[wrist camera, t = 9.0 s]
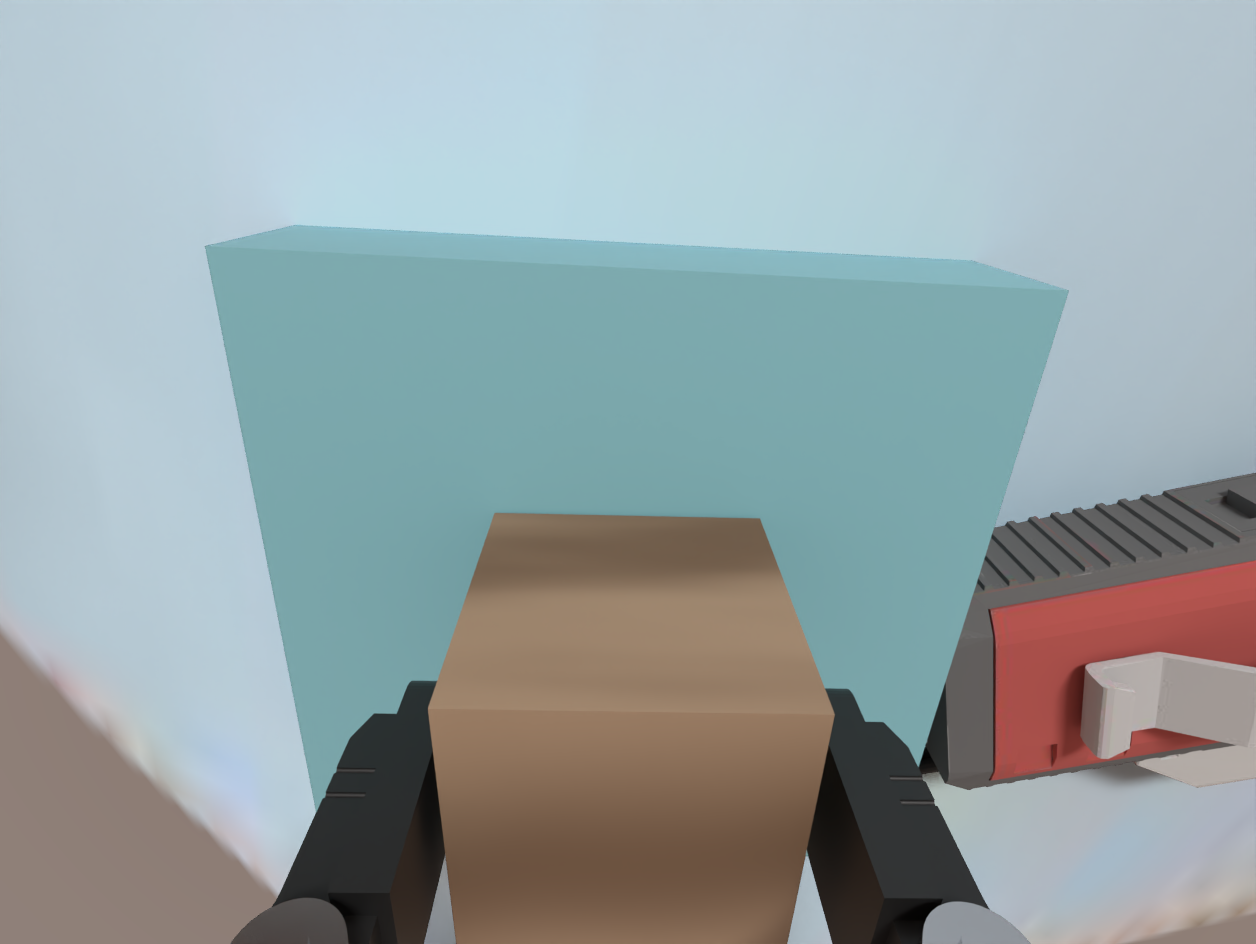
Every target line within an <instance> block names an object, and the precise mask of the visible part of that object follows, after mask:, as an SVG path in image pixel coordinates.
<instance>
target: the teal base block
mask: <svg viewBox="0 0 1256 944" xmlns="http://www.w3.org/2000/svg"><path fill="white" fill-rule="evenodd" d="M205 249H206V254H207V259H208V264H209V269H210V274H211V279H212V284H213V289H214V294H215V300H216V305H217V310H218V315H219V320H220V325H221V330H222V335H223V340H224V345H225V350H226V355H227V361H228V366H229V371H230V376H231V381H232V386H233V391H234V396H235V401H236V406H237V411H238V417H239V422H240V427H241V432H242V437H243V442H244V447H245V452H246V457H247V462H248V467H249V473H250V478H251V483H252V488H253V493H254V498H255V503H256V508H257V513H258V518H259V523H260V528H261V534H262V539H263V544H264V549H265V554H266V559H267V564H268V569H269V574H270V579H271V584H272V590H273V595H274V600H275V605H276V610H277V615H278V620H279V625H280V630H281V635H282V640H283V646H284V651H285V656H286V661H287V666H288V671H289V676H290V681H291V686H292V691H293V696H294V701H295V707H296V712H297V717H298V722H299V727H300V732H301V737H302V742H303V747H304V752H305V757H306V763H307V768H308V773H309V778H310V783H311V788H312V793H313V798H314V803H315V808H316V812H317V810H318V808H319V805H320V803H321V801H322V799H323V798H325V795H326V790H327V788H328V785H329V783H330V781H331V779H332V776H333V774H334V773H336V770H337V765H338V763H339V761H340V759H341V756H342V754H343V752H344V750H345V747H346V745H347V743H348V741H349V739H350V737H351V736H352V735H353V734H354V733H355V732H356V731H357V730H358V729H359V728H360V727H361V726H362V725H363V724H364V723H365V722H366V721H367V720H368V719H369V718H370V717H371V716H372V715H373V714H374V713H384V714H397V711H398V709H399V706H400V704H401V701H402V698H403V696H404V693H405V691H406V688H407V686H408V684H409V683H410V682H411V681H437V680H438V677H439V674H440V671H441V669H442V666H443V663H444V660H445V657H446V654H447V651H448V648H449V645H450V642H451V639H452V636H453V633H454V630H455V627H456V624H457V622H458V619H459V616H460V613H461V610H462V607H463V604H464V601H465V598H466V595H467V592H468V589H469V586H470V583H471V580H472V577H473V575H474V572H475V569H476V566H477V563H478V560H479V557H480V554H481V551H482V548H483V545H484V542H485V539H486V536H487V533H488V530H489V528H490V525H491V522H492V519H493V516H494V513H527V514H574V515H622V516H670V517H717V518H760V520H761V522H762V525H763V528H764V530H765V533H766V536H767V538H768V541H769V543H770V546H771V549H772V551H773V554H774V557H775V559H776V562H777V564H778V567H779V570H780V572H781V575H782V577H783V580H784V583H785V585H786V588H787V591H788V593H789V596H790V598H791V601H792V604H793V606H794V609H795V612H796V614H797V617H798V619H799V622H800V625H801V627H802V630H803V632H804V635H805V638H806V640H807V643H808V646H809V648H810V651H811V653H812V656H813V659H814V661H815V664H816V667H817V669H818V672H819V674H820V677H821V680H822V682H823V685H824V687H825V688H835V689H849V690H850V691H851V692H852V693H853V695H854V697H855V700H856V702H857V704H858V706H859V709H860V711H861V713H862V715H863V718H864V720H865V722H884V723H885V724H886V725H887V726H888V727H889V728H890V729H891V730H892V731H893V732H894V733H895V734H896V735H897V736H898V737H899V738H900V739H901V740H902V741H903V742H904V743H905V744H906V745H907V746H908V747H909V750H910V752H911V754H912V756H913V758H914V760H915V762H916V764H917V766H918V767H919V764H920V761H921V758H922V755H923V751H924V748H925V745H926V742H927V739H928V736H929V732H930V729H931V726H932V723H933V720H934V717H935V713H936V710H937V707H938V704H939V701H940V698H941V694H942V691H943V688H944V685H945V682H946V679H947V675H948V672H949V669H950V666H951V663H952V660H953V656H954V653H955V650H956V647H957V644H958V641H959V637H960V634H961V631H962V628H963V625H964V622H965V618H966V615H967V612H968V609H969V606H970V603H971V599H972V596H973V593H974V590H975V587H976V584H977V580H978V577H979V574H980V571H981V568H982V565H983V561H984V558H985V555H986V552H987V549H988V545H989V542H990V539H991V536H992V533H993V530H994V526H995V523H996V520H997V517H998V514H999V511H1000V507H1001V504H1002V501H1003V498H1004V495H1005V492H1006V488H1007V485H1008V482H1009V479H1010V476H1011V473H1012V469H1013V466H1014V463H1015V460H1016V457H1017V454H1018V450H1019V447H1020V444H1021V441H1022V438H1023V435H1024V431H1025V428H1026V425H1027V422H1028V419H1029V416H1030V412H1031V409H1032V406H1033V403H1034V400H1035V397H1036V393H1037V390H1038V387H1039V384H1040V381H1041V378H1042V374H1043V371H1044V368H1045V365H1046V362H1047V359H1048V355H1049V352H1050V349H1051V346H1052V343H1053V340H1054V336H1055V333H1056V330H1057V327H1058V324H1059V321H1060V317H1061V314H1062V311H1063V308H1064V305H1065V302H1066V298H1067V295H1068V292H1069V290H1065V289H1062V288H1059V287H1056V286H1053V285H1049V284H1046V283H1043V282H1040V281H1036V280H1033V279H1030V278H1027V277H1023V276H1020V275H1017V274H1014V273H1010V272H1007V271H1004V270H1001V269H997V268H994V267H991V266H988V265H984V264H981V263H978V262H975V261H968V260H949V259H930V258H911V257H892V256H873V255H854V254H835V253H816V252H797V251H778V250H759V249H740V248H721V247H702V246H683V245H664V244H645V243H626V242H607V241H588V240H569V239H550V238H531V237H512V236H493V235H474V234H455V233H436V232H417V231H398V230H379V229H360V228H341V227H322V226H303V225H293V226H289V227H285V228H281V229H276V230H272V231H268V232H263V233H259V234H255V235H251V236H246V237H242V238H238V239H233V240H229V241H225V242H221V243H216V244H212V245H208V246H205ZM806 856H808V853H807V851H806Z"/></svg>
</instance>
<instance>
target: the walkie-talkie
mask: <svg viewBox="0 0 1256 944" xmlns="http://www.w3.org/2000/svg"><path fill="white" fill-rule="evenodd" d="M925 746H926V747H925V748H924V751H923V755H922V758H921V761H920V764H919V767H918V768H919V770H920V772H921V774H926V773H932V772H938V771H939V773H940V775H941V776H942V778H943V780H944V782H945V783H946V784H949V785H953V786H956V787H960V788H964V789H967V790H971V789H973V788H978V787H984V786H986V787H989V786H993V785H996V784H1002V783H1013V782H1015V781H1020V780H1026V779H1028V780H1031V779H1035V778H1038V777H1044V776H1055V775H1058V774H1062V773H1068V772H1071V773H1073V772H1078V771H1080V770H1086V769H1092V768H1093V769H1097V768H1100V767H1103V766H1109V765H1121V764H1123V763H1127V762H1134V763H1135V764H1136V765H1138V766H1140V767H1143V768H1146V769H1149V770H1151V771H1154V772H1157V773H1159V774H1162V775H1165V776H1168V777H1170V778H1173V779H1176V780H1178V781H1181V782H1184V783H1187V784H1189V785H1192V786H1195V787H1197V788H1199V787H1205V786H1211V785H1217V784H1223V783H1229V782H1235V781H1242V780H1248V779H1254V778H1256V473H1252V474H1247V475H1242V476H1237V477H1232V478H1227V479H1222V480H1217V481H1212V482H1207V483H1202V484H1197V485H1192V486H1186V487H1181V488H1176V489H1171V490H1166V491H1164V492H1163V494H1162V495H1158V496H1153V497H1152V496H1150V495H1149V494H1146V495H1141V497H1140V499H1138V500H1133V501H1128V500H1127V499H1121V500H1118V503H1117V504H1112V505H1107V506H1106V505H1105V504H1103V503H1100V504H1096V506H1095V508H1092V509H1087V510H1083V509H1082V508H1075V509H1073V511H1072V513H1067V514H1062V515H1061V514H1060V513H1059V512H1055V513H1051V515H1050V517H1046V518H1041V519H1038V518H1037V517H1036V516H1034V517H1029V519H1028V521H1026V522H1021V523H1016V522H1014V521H1009V522H1007V523H1006V526H1001V527H996V528H994V530H993V533H992V536H991V539H990V542H989V545H988V549H987V552H986V555H985V558H984V561H983V565H982V568H981V571H980V574H979V577H978V580H977V584H976V587H975V590H974V593H973V596H972V599H971V603H970V606H969V609H968V612H967V615H966V618H965V622H964V625H963V628H962V631H961V634H960V637H959V641H958V644H957V647H956V650H955V653H954V656H953V660H952V663H951V666H950V669H949V672H948V675H947V679H946V682H945V685H944V688H943V691H942V694H941V698H940V701H939V704H938V707H937V710H936V713H935V717H934V720H933V723H932V726H931V729H930V732H929V736H928V739H927V742H926V745H925Z"/></svg>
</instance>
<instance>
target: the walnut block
mask: <svg viewBox="0 0 1256 944" xmlns="http://www.w3.org/2000/svg"><path fill="white" fill-rule="evenodd" d="M428 715H429V723H430V731H431V740H432V748H433V756H434V764H435V773H436V781H437V789H438V797H439V805H440V814H441V822H442V830H443V838H444V847H445V855H446V863H447V871H448V880H449V888H450V896H451V904H452V913H453V921H454V929H455V937H456V944H787V942H788V937H789V932H790V928H791V923H792V918H793V913H794V908H795V904H796V899H797V894H798V889H799V884H800V880H801V875H802V870H803V865H804V860H805V856H806V851H807V846H808V841H809V836H810V832H811V827H812V822H813V817H814V812H815V808H816V803H817V798H818V793H819V788H820V784H821V779H822V774H823V769H824V764H825V760H826V755H827V750H828V745H829V740H830V736H831V731H832V726H833V721H834V716H835V714H834V711H833V708H832V706H831V703H830V701H829V698H828V695H827V693H826V690H825V687H824V685H823V682H822V680H821V677H820V674H819V672H818V669H817V667H816V664H815V661H814V659H813V656H812V653H811V651H810V648H809V646H808V643H807V640H806V638H805V635H804V632H803V630H802V627H801V625H800V622H799V619H798V617H797V614H796V612H795V609H794V606H793V604H792V601H791V598H790V596H789V593H788V591H787V588H786V585H785V583H784V580H783V577H782V575H781V572H780V570H779V567H778V564H777V562H776V559H775V557H774V554H773V551H772V549H771V546H770V543H769V541H768V538H767V536H766V533H765V530H764V528H763V525H762V522H761V520H760V518H717V517H670V516H622V515H574V514H527V513H494V516H493V519H492V522H491V525H490V528H489V530H488V533H487V536H486V539H485V542H484V545H483V548H482V551H481V554H480V557H479V560H478V563H477V566H476V569H475V572H474V575H473V577H472V580H471V583H470V586H469V589H468V592H467V595H466V598H465V601H464V604H463V607H462V610H461V613H460V616H459V619H458V622H457V624H456V627H455V630H454V633H453V636H452V639H451V642H450V645H449V648H448V651H447V654H446V657H445V660H444V663H443V666H442V669H441V671H440V674H439V677H438V680H437V683H436V686H435V689H434V692H433V695H432V698H431V701H430V704H429V707H428Z"/></svg>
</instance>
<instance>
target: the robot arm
mask: <svg viewBox="0 0 1256 944" xmlns="http://www.w3.org/2000/svg"><path fill="white" fill-rule="evenodd" d="M436 683H437V681H411V682H410V683H409V684H408V686H407V688H406V691H405V693H404V696H403V698H402V701H401V704H400V706H399V709H398V711H397V714H384V713H374V714H373V715H372V716H371V717H370V718H369V719H368V720H367V721H366V722H365V723H364V724H363V725H362V726H361V727H360V728H359V729H358V730H357V731H356V732H355V733H354V734H353V735H352V736H351V737H350V739H349V741H348V743H347V745H346V747H345V750H344V752H343V754H342V756H341V759H340V761H339V763H338V765H337V770H336V773H334V774H333V776H332V779H331V781H330V783H329V785H328V788H327V790H326V795H325V798H323V799H322V801H321V803H320V805H319V808H318V810H317V812H316V814H315V816H314V819H313V821H312V823H311V825H310V828H309V830H308V832H307V834H306V837H305V839H304V841H303V843H302V845H301V848H300V850H299V852H298V854H297V857H296V859H295V861H294V863H293V865H292V868H291V870H290V872H289V874H288V877H287V879H286V881H285V883H284V886H283V888H282V890H281V892H280V894H279V896H278V898H277V900H276V902H275V903H274V904H273V906H272V907H271V908H269V909H268V910H266V911H264V912H263V913H261V914H260V915H258V916H257V917H256V918H254V919H253V920H251V921H250V922H249V923H248V924H247V925H246V926H245V927H244V928H243V929H242V930H241V931H240V932H239V933H238V935H237V936H236V937H235V938H234V939H233V941H232V942H231V944H424V940H425V936H426V932H427V928H428V923H429V919H430V915H431V911H432V907H433V903H434V898H435V894H436V890H437V886H438V882H439V877H440V873H441V869H442V865H443V861H444V857H445V847H444V838H443V830H442V822H441V814H440V805H439V797H438V789H437V781H436V773H435V764H434V756H433V748H432V740H431V731H430V723H429V715H428V707H429V704H430V701H431V698H432V695H433V692H434V689H435V686H436ZM825 690H826V693H827V695H828V698H829V701H830V703H831V706H832V708H833V711H834V714H835V716H834V721H833V726H832V731H831V736H830V740H829V745H828V750H827V755H826V760H825V764H824V769H823V774H822V779H821V784H820V788H819V793H818V798H817V803H816V808H815V812H814V817H813V822H812V827H811V832H810V836H809V841H808V846H807V853H808V856H809V860H810V864H811V867H812V871H813V875H814V878H815V882H816V885H817V889H818V893H819V896H820V900H821V904H822V907H823V911H824V914H825V918H826V922H827V925H828V929H829V932H830V936H831V940H832V943H833V944H1030V942H1029V941H1028V940H1027V939H1026V938H1025V936H1024V935H1023V934H1022V933H1021V932H1020V931H1019V930H1018V929H1017V928H1016V927H1014V926H1013V925H1012V924H1011V923H1010V922H1008V921H1007V920H1006V919H1004V918H1003V917H1001V916H1000V915H998V914H996V913H995V912H993V911H991V910H990V909H989V908H988V906H987V904H986V903H985V901H984V899H983V897H982V895H981V893H980V891H979V889H978V887H977V885H976V883H975V881H974V879H973V877H972V875H971V873H970V871H969V869H968V867H967V865H966V863H965V861H964V859H963V857H962V855H961V853H960V851H959V849H958V847H957V845H956V843H955V841H954V839H953V837H952V835H951V832H950V830H949V828H948V826H947V824H946V822H945V820H944V818H943V816H942V814H941V812H940V810H939V808H938V806H935V804H934V798H933V796H932V794H931V792H930V790H929V788H928V786H927V784H926V782H923V779H922V774H921V772H920V770H919V768H918V766H917V764H916V762H915V760H914V758H913V756H912V754H911V752H910V750H909V747H908V746H907V745H906V744H905V743H904V742H903V741H902V740H901V739H900V738H899V737H898V736H897V735H896V734H895V733H894V732H893V731H892V730H891V729H890V728H889V727H888V726H887V725H886V724H885V723H884V722H865V720H864V718H863V715H862V713H861V711H860V709H859V706H858V704H857V702H856V700H855V697H854V695H853V693H852V692H851V691H850V690H849V689H835V688H825Z"/></svg>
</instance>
